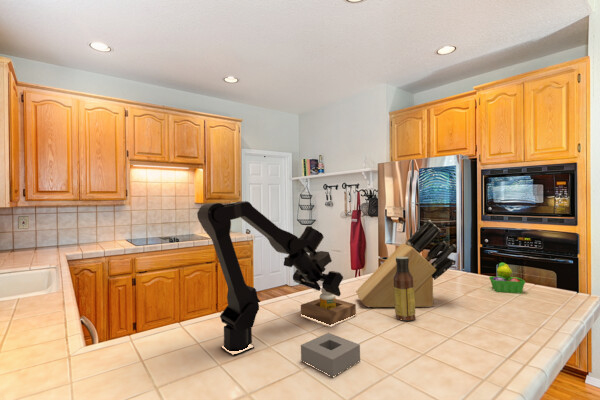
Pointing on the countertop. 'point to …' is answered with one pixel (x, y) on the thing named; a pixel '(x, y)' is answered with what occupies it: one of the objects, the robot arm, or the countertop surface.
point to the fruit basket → (506, 281)
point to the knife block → (382, 280)
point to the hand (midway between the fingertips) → (329, 292)
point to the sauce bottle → (404, 290)
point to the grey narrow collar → (330, 353)
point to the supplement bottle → (327, 300)
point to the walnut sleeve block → (328, 311)
